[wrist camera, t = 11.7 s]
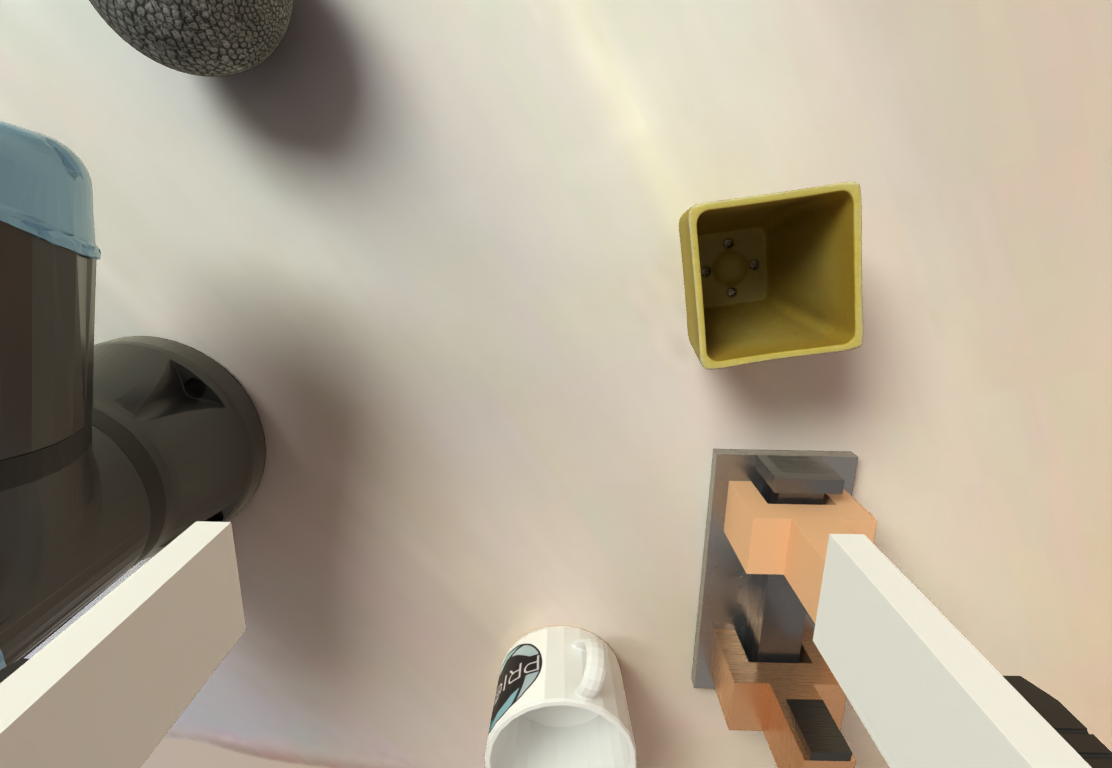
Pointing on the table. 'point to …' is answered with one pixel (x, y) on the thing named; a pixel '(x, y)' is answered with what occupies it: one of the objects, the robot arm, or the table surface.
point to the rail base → (769, 618)
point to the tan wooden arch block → (790, 536)
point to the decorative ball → (200, 31)
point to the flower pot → (774, 275)
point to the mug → (560, 705)
